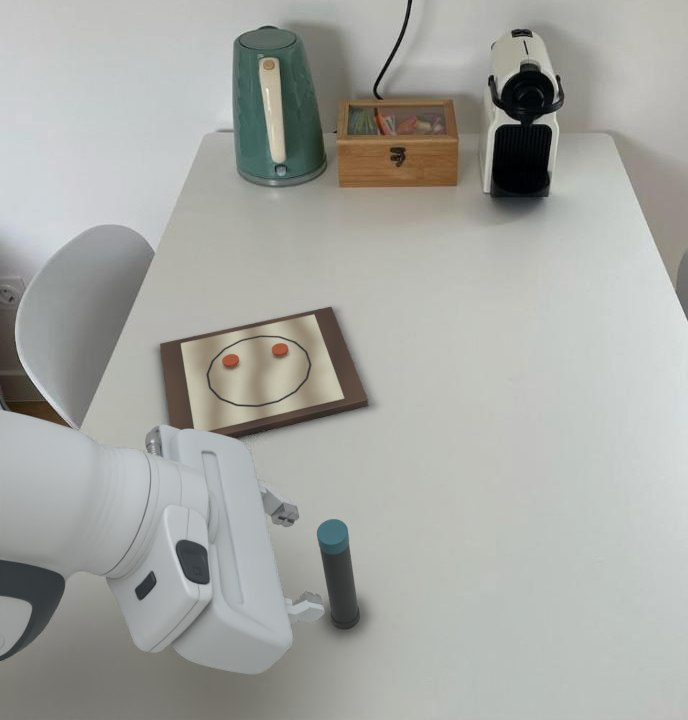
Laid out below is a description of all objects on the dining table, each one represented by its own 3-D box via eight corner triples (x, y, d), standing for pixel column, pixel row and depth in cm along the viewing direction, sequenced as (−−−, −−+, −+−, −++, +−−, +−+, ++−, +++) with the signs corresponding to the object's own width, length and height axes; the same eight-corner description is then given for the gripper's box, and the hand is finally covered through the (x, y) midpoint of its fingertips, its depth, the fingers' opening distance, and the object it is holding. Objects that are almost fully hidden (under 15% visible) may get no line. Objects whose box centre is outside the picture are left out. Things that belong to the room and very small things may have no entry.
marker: (335, 632, 72) (320, 548, 64) (328, 607, 74) (312, 523, 66) (363, 624, 73) (352, 540, 64) (355, 599, 75) (344, 514, 66)
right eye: (273, 357, 97) (273, 355, 97) (270, 346, 99) (270, 345, 99) (289, 353, 98) (289, 351, 98) (286, 343, 99) (286, 341, 99)
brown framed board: (175, 452, 89) (172, 445, 88) (161, 349, 102) (159, 342, 101) (368, 405, 93) (367, 398, 92) (332, 312, 106) (331, 305, 105)
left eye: (223, 368, 96) (223, 366, 96) (221, 357, 98) (221, 356, 97) (240, 364, 97) (240, 363, 96) (238, 354, 98) (237, 352, 98)
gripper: (123, 445, 66) (261, 488, 75) (139, 673, 52) (308, 695, 60) (165, 393, 64) (302, 444, 73) (194, 617, 50) (361, 648, 58)
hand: (305, 560), depth 66 cm, fingers open, 8 cm apart
